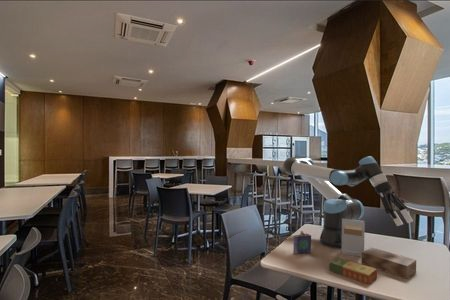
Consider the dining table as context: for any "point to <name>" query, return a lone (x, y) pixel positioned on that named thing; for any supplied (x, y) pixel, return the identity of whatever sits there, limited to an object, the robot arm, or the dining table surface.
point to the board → (352, 237)
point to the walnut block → (389, 262)
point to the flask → (302, 244)
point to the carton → (353, 270)
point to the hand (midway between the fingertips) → (405, 223)
